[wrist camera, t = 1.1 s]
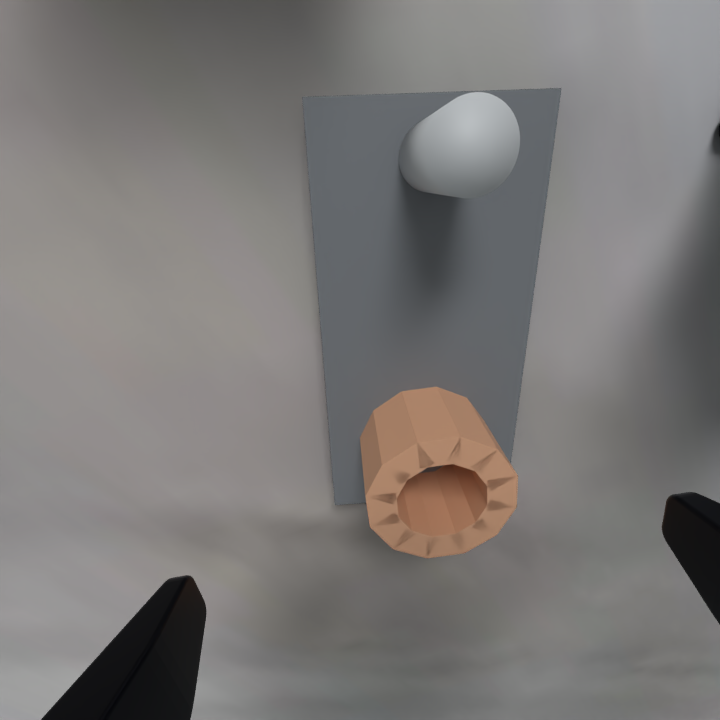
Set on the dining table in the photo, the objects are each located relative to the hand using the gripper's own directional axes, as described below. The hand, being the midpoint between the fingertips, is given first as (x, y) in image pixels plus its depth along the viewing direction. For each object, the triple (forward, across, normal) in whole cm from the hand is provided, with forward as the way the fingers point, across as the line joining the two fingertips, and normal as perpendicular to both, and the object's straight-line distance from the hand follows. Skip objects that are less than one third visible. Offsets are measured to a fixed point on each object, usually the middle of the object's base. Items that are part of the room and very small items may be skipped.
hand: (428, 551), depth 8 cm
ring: (+11, -1, +6) cm, 12 cm away
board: (+12, -2, -1) cm, 13 cm away
